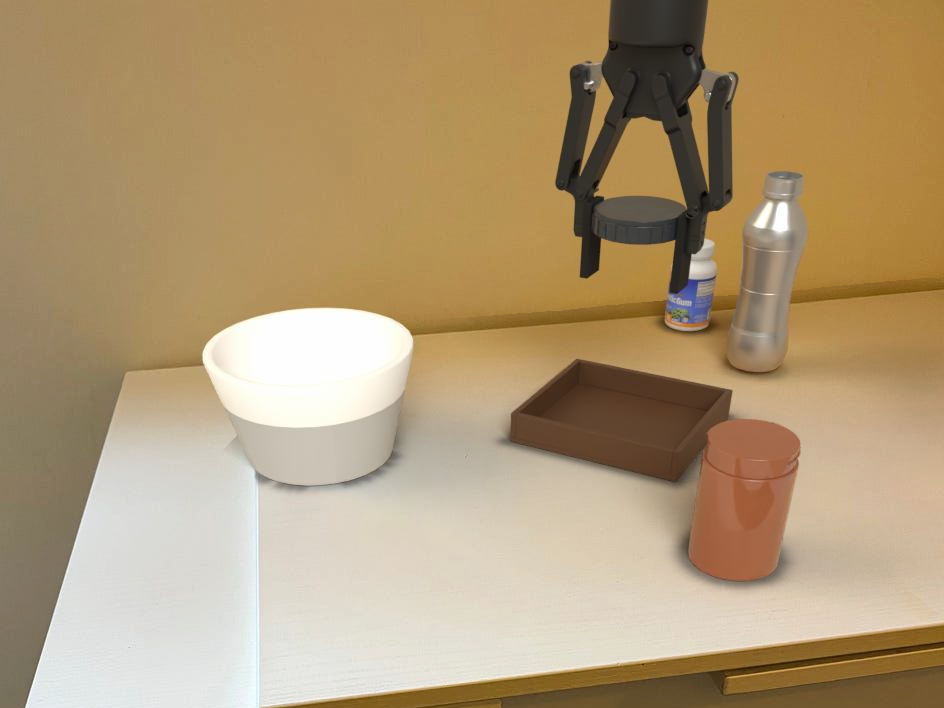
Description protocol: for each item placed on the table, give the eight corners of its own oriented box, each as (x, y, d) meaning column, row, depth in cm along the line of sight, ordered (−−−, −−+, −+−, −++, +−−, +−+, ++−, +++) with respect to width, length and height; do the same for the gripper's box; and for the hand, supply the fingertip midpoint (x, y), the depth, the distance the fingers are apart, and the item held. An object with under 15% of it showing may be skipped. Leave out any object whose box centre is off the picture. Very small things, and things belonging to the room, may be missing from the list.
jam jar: (788, 546, 82) (814, 429, 76) (762, 590, 77) (788, 470, 71) (704, 524, 85) (722, 410, 79) (675, 566, 80) (691, 447, 74)
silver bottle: (774, 383, 107) (811, 186, 95) (714, 372, 110) (742, 179, 98) (790, 362, 112) (828, 171, 99) (732, 352, 115) (761, 164, 102)
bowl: (185, 486, 92) (161, 376, 85) (271, 399, 106) (256, 299, 100) (381, 512, 88) (372, 398, 81) (443, 418, 102) (439, 315, 96)
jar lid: (576, 237, 87) (577, 214, 86) (613, 212, 92) (615, 191, 91) (664, 250, 83) (667, 226, 82) (698, 224, 89) (701, 202, 88)
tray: (728, 417, 101) (732, 389, 99) (675, 482, 91) (679, 452, 89) (575, 384, 108) (576, 358, 106) (510, 441, 98) (510, 413, 96)
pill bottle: (655, 322, 122) (663, 241, 116) (686, 313, 124) (696, 232, 118) (686, 336, 119) (697, 252, 112) (718, 325, 121) (730, 243, 115)
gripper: (518, -17, 78) (512, 275, 92) (781, -6, 70) (731, 313, 84) (559, -26, 83) (548, 252, 97) (809, -16, 75) (757, 287, 89)
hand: (633, 280), depth 91 cm, fingers closed on jar lid, 8 cm apart
